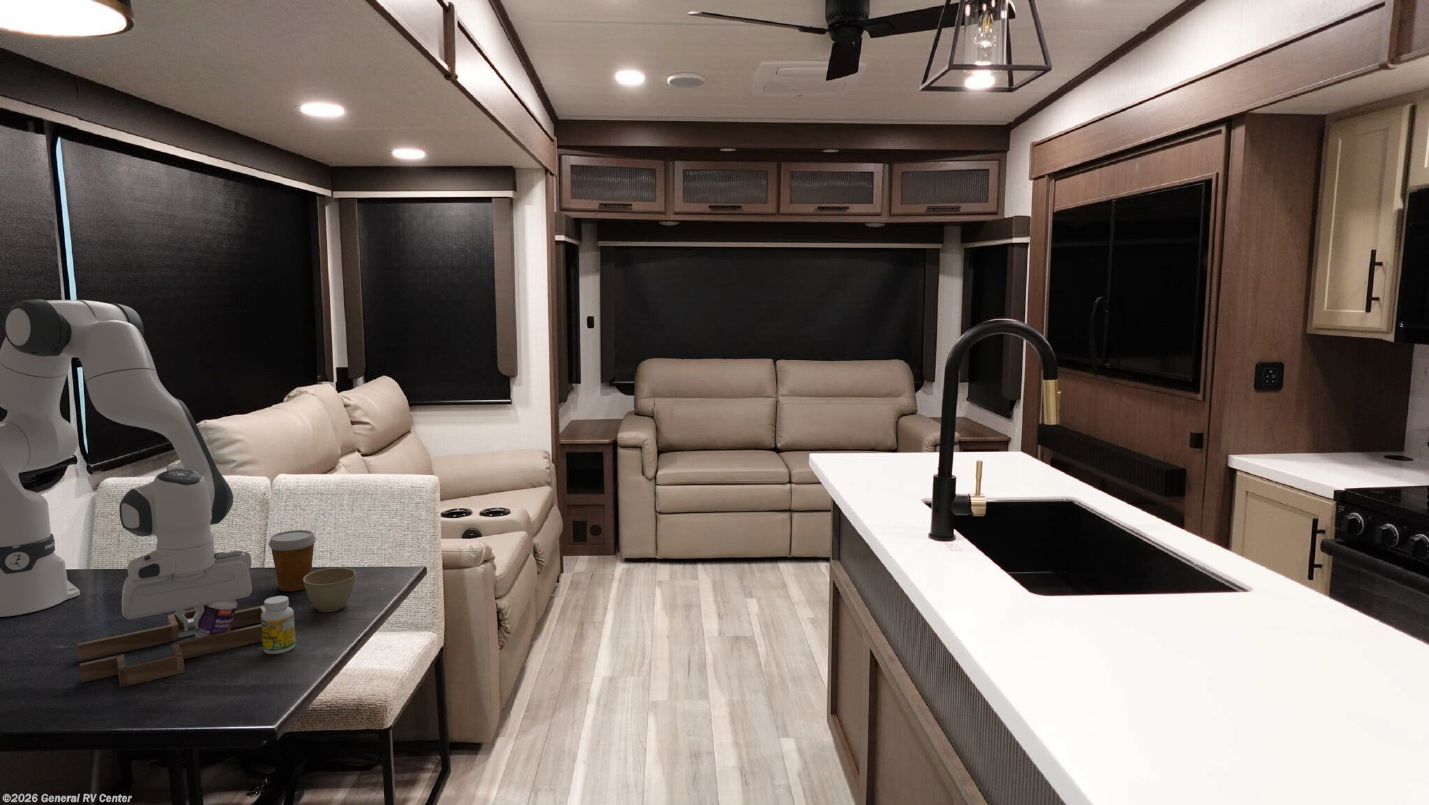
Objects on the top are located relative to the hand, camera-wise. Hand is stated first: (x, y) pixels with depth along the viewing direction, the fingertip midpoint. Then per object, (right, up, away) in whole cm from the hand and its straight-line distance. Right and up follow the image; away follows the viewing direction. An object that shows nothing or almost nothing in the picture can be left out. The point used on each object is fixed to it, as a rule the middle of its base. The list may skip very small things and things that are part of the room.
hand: (191, 629), depth 149 cm
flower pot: (+16, -1, +20) cm, 26 cm away
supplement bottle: (+16, -4, +1) cm, 17 cm away
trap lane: (-1, -3, 0) cm, 4 cm away
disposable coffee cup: (+3, 0, +32) cm, 32 cm away
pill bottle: (+2, -3, +3) cm, 4 cm away
